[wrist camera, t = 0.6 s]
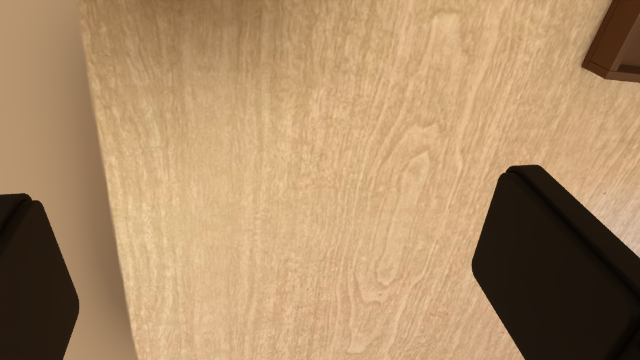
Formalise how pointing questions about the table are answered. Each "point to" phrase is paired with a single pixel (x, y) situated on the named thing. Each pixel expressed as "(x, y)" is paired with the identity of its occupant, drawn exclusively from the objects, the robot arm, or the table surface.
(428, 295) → the table surface
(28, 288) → the robot arm
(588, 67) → the tray
